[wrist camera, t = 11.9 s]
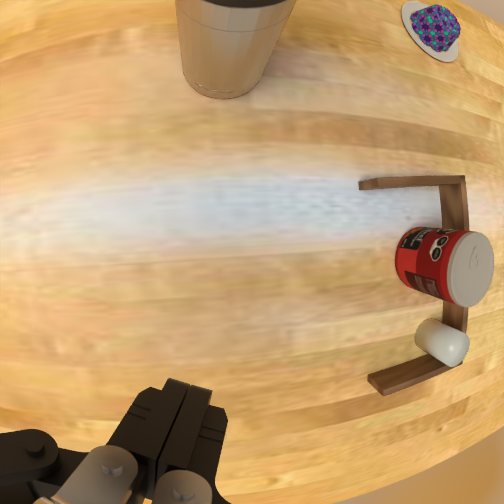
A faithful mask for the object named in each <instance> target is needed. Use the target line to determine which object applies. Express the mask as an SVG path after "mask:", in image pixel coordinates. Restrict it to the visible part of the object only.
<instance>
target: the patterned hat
mask: <svg viewBox="0 0 504 504" xmlns="http://www.w3.org/2000/svg"><path fill="white" fill-rule="evenodd" d="M414 11H416V12H415V13H413V14H411V13H412V12H414ZM401 12H402V19H403V22H404V24H405V27H406V29H407V30H408V32H409V34H410V35H411V36H412V38H413V39H414V40H415V41H416V43H417V44H418V45H419V46H420V47H421V48H422V49H423V50H424V51H426V52H427V53H428V54H430V55H431V56H433V57H434V58H436V59H438V60H441V61H444V62H452V61H454V60H455V59H456V58H457V57H458V54H459V44H458V41H457V38H458V37H459V35H460V29H461V28H460V24H459V23H458V22H457V19H456V17H455V16H454V15H453V14H452V13H451V12H450V11H449V10H448V9H447V8H445V7H442V6H440V5H432V6H428V5H426V4H424V3H421V2H418V1H409V2H406V3H405V4H404V5H403V7H402V11H401ZM410 15H411V16H410ZM410 19H411V20H412V22H413V23H412V27H411V24H410ZM412 28H413V29H412ZM413 30H414V31H415V33H417V34H418V35H419V37H420V39H419V38H418V37H417V36H416V34H415V33H414V31H413ZM426 45H427V46H431V47H432V49H433V50H435V51H436V52H435V51H433V50H431V49H430V48H428V47H427V46H426ZM442 50H443V51H447V50H448V51H447V52H445V53H438V52H441V51H442Z"/></svg>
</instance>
